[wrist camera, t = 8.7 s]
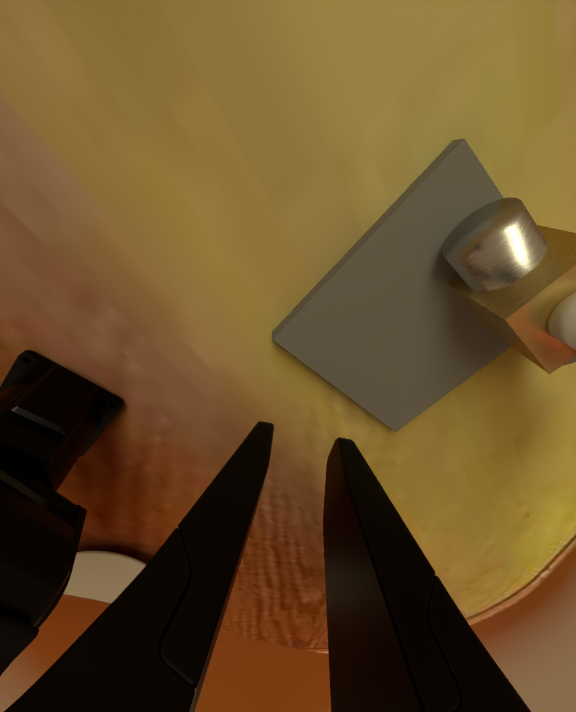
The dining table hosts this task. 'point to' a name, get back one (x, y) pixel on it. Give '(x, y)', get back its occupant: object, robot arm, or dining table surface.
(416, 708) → the robot arm
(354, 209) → the dining table surface
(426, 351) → the mounting board
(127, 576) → the white double-ended utensil part
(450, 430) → the dining table surface
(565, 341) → the valve lever
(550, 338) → the ball valve
